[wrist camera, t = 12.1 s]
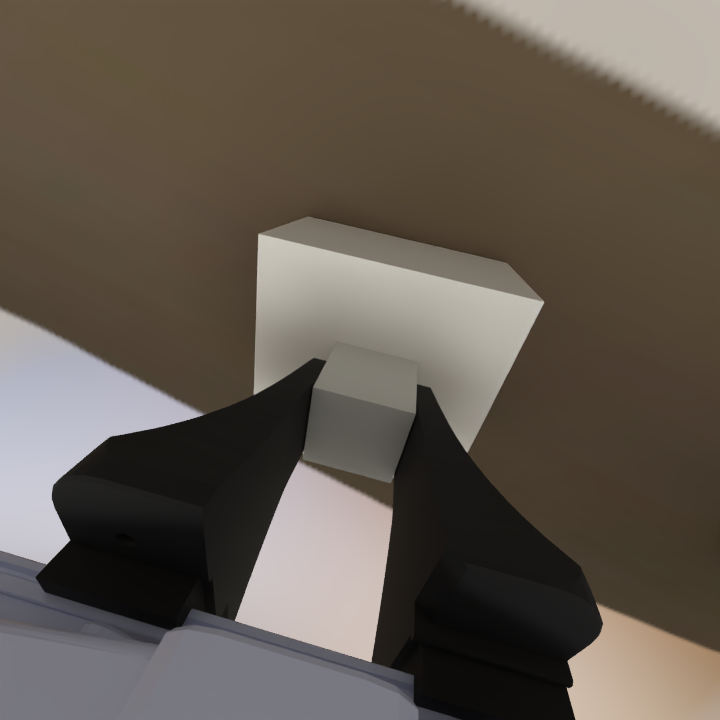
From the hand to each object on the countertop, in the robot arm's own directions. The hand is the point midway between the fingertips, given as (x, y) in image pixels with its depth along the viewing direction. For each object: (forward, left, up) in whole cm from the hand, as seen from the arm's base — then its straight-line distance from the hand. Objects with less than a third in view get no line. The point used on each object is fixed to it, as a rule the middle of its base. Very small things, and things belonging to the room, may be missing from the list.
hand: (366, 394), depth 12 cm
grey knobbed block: (0, 0, -6) cm, 6 cm away
